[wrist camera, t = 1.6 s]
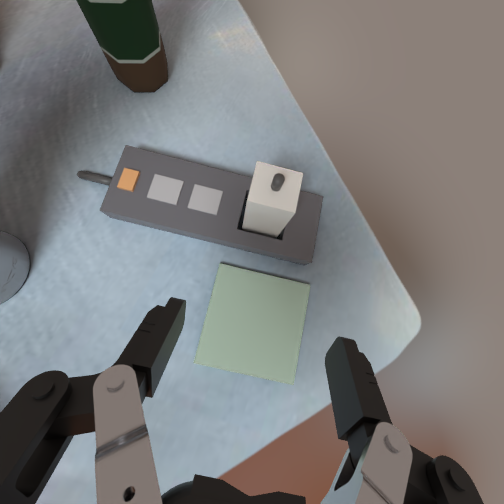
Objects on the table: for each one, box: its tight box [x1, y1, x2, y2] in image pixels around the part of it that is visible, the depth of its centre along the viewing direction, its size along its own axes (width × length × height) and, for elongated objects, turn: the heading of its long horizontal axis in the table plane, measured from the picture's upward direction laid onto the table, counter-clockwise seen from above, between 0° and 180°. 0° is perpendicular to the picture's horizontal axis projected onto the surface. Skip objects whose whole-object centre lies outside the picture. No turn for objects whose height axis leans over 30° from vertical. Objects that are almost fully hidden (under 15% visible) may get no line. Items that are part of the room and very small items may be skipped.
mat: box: [194, 263, 310, 385], centre depth 28 cm, size 12×12×1 cm
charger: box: [242, 161, 303, 239], centre depth 26 cm, size 5×4×12 cm
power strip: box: [77, 145, 323, 265], centre depth 30 cm, size 32×9×3 cm, turn 77°
